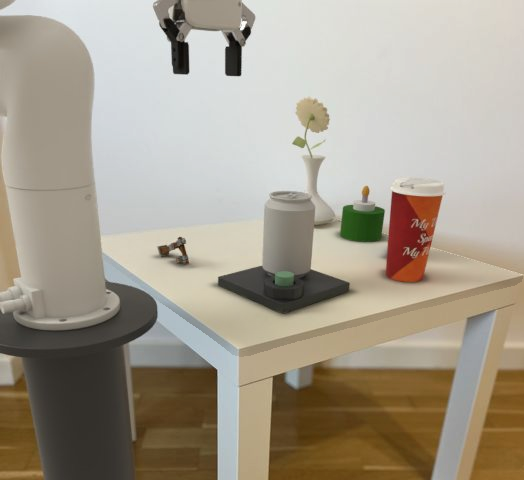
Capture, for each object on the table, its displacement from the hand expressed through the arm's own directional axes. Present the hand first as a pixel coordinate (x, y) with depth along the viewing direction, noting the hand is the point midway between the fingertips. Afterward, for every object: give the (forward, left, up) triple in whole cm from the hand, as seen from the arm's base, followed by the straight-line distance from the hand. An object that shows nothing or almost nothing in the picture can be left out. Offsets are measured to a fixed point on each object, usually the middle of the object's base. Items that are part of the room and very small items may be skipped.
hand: (208, 75), depth 81 cm
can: (+2, -16, -27) cm, 32 cm away
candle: (+34, -6, -28) cm, 45 cm away
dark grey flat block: (0, -18, -28) cm, 33 cm away
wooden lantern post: (-5, +3, -28) cm, 29 cm away
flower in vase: (+34, +9, -28) cm, 45 cm away
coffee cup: (+20, -26, -28) cm, 43 cm away
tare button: (-4, -22, -26) cm, 34 cm away
